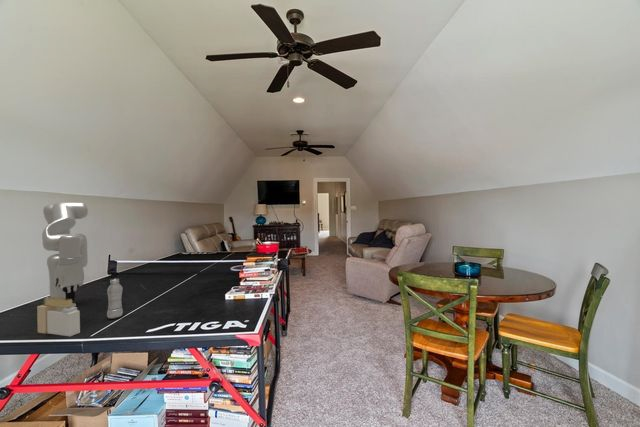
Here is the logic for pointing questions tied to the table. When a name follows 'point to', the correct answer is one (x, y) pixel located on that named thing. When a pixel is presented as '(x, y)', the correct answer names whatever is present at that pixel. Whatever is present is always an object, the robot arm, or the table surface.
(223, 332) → the table surface
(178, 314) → the table surface
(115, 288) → the plastic bottle
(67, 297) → the robot arm
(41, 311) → the cream stepped two-tone block
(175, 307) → the table surface
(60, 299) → the swing bar
